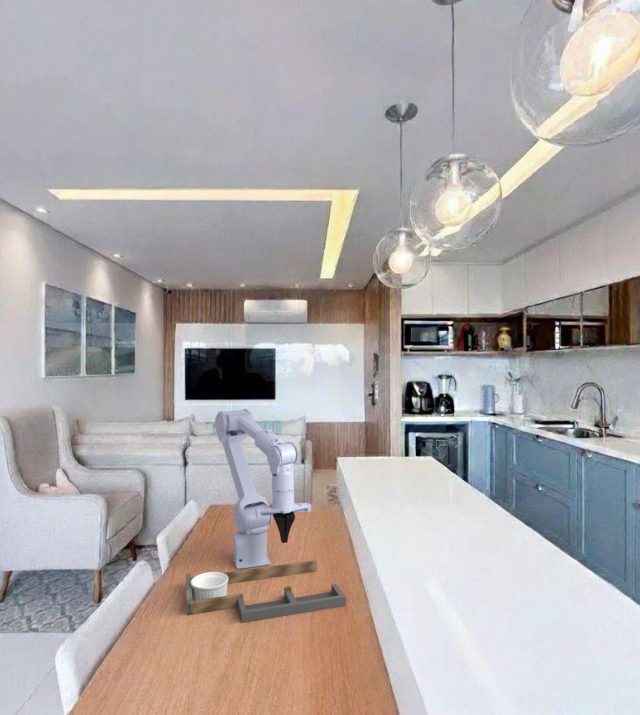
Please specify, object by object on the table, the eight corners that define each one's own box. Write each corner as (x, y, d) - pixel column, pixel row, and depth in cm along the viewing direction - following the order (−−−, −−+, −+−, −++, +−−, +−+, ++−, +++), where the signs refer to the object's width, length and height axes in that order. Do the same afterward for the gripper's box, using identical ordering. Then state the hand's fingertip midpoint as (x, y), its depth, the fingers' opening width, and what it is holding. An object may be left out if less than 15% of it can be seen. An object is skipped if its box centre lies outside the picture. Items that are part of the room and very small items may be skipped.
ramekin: (236, 595, 120) (235, 578, 120) (205, 610, 114) (205, 591, 114) (213, 585, 126) (213, 568, 126) (183, 598, 119) (183, 580, 119)
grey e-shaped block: (241, 622, 108) (241, 613, 108) (237, 607, 115) (237, 598, 115) (345, 605, 114) (345, 596, 114) (336, 591, 121) (336, 583, 121)
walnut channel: (187, 615, 111) (186, 599, 112) (186, 587, 125) (185, 573, 125) (331, 592, 121) (331, 578, 121) (315, 569, 135) (315, 556, 135)
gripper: (258, 495, 125) (259, 550, 124) (313, 490, 129) (314, 543, 128) (253, 489, 131) (254, 540, 131) (306, 484, 135) (307, 534, 135)
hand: (284, 541), depth 130 cm, fingers closed
